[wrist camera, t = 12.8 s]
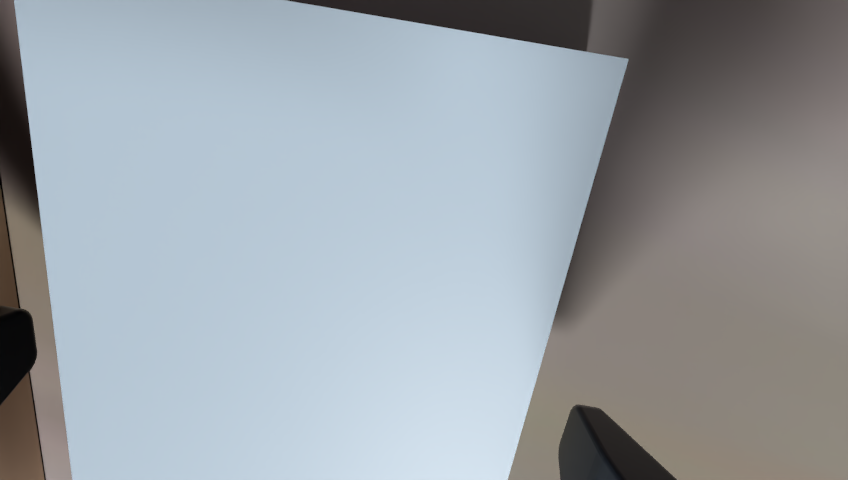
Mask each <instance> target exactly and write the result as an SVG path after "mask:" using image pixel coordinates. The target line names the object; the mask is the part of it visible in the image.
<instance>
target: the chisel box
mask: <svg viewBox="0 0 848 480" xmlns="http://www.w3.org/2000/svg"><path fill="white" fill-rule="evenodd" d="M0 306H8V307H14V308H19V307H18V300H17V293H16V287H15V280H14V273H13V267H12V260H11V253H10V247H9V240H8V233H7V227H6V220H5V213H4V207H3V200H2V193H1V187H0ZM0 480H45V479H44V473H43V466H42V459H41V453H40V446H39V439H38V433H37V426H36V420H35V413H34V406H33V400H32V393H31V386H30V380H29V373H27V374H26V376H25V377H24V378H23V379H22V380H21V382H20V383H19V384H18V385H17V386H16V388H15V389H14V390H13V391H12V393H11V394H10V395H9V396H8V397H7V399H6V400H5V401H4V402H3V403H2V405H1V406H0Z"/></svg>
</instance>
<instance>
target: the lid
mask: <svg viewBox="0 0 848 480" xmlns="http://www.w3.org/2000/svg"><path fill="white" fill-rule="evenodd" d="M14 4H15V12H16V20H17V29H18V37H19V45H20V53H21V62H22V70H23V78H24V86H25V95H26V103H27V111H28V119H29V127H30V136H31V144H32V152H33V160H34V169H35V177H36V185H37V193H38V202H39V210H40V218H41V226H42V234H43V243H44V251H45V259H46V267H47V276H48V284H49V292H50V300H51V309H52V317H53V325H54V333H55V341H56V350H57V358H58V366H59V374H60V383H61V391H62V399H63V407H64V415H65V424H66V432H67V440H68V448H69V457H70V465H71V473H72V480H508V476H509V473H510V469H511V466H512V462H513V459H514V455H515V452H516V448H517V445H518V441H519V438H520V434H521V431H522V427H523V424H524V421H525V417H526V414H527V410H528V407H529V403H530V400H531V396H532V393H533V389H534V386H535V382H536V379H537V375H538V372H539V369H540V365H541V362H542V358H543V355H544V351H545V348H546V344H547V341H548V337H549V334H550V330H551V327H552V323H553V320H554V316H555V313H556V310H557V306H558V303H559V299H560V296H561V292H562V289H563V285H564V282H565V278H566V275H567V271H568V268H569V264H570V261H571V258H572V254H573V251H574V247H575V244H576V240H577V237H578V233H579V230H580V226H581V223H582V219H583V216H584V212H585V209H586V205H587V202H588V199H589V195H590V192H591V188H592V185H593V181H594V178H595V174H596V171H597V167H598V164H599V160H600V157H601V153H602V150H603V146H604V143H605V140H606V136H607V133H608V129H609V126H610V122H611V119H612V115H613V112H614V108H615V105H616V101H617V98H618V94H619V91H620V88H621V84H622V81H623V77H624V74H625V70H626V67H627V63H628V60H629V59H626V58H620V57H614V56H608V55H602V54H597V53H591V52H585V51H579V50H573V49H567V48H561V47H556V46H550V45H544V44H538V43H532V42H526V41H521V40H515V39H509V38H503V37H497V36H491V35H486V34H480V33H474V32H468V31H462V30H456V29H450V28H445V27H439V26H433V25H427V24H421V23H415V22H410V21H404V20H398V19H392V18H386V17H380V16H375V15H369V14H363V13H357V12H351V11H345V10H340V9H334V8H328V7H322V6H316V5H310V4H304V3H299V2H293V1H287V0H14Z"/></svg>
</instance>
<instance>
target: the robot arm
mask: <svg viewBox="0 0 848 480" xmlns="http://www.w3.org/2000/svg"><path fill="white" fill-rule="evenodd" d="M36 357H37V348H36V340H35V333H34V326H33V319H32V316H31V314H30V313H29V312H28V311H26V310H24V309H19V308H14V307H8V306H0V406H1V405H2V403H3V402H4V401H5V400H6V399H7V397H8V396H9V395H10V394H11V393H12V391H13V390H14V389H15V388H16V386H17V385H18V384H19V383H20V382H21V380H22V379H23V378H24V377H25V376H26V374H27V373H28V372H29V371H30V370H31V368H32V367H33V365H34V363H35V360H36ZM559 468H560V479H561V480H677V479H676V478H675V477H673V476H672V475H671V474H670V473H669V472H668V471H667V470H666V469H665V468H664V467H663V466H662V465H661V464H659V463H658V462H657V461H656V460H655V459H654V458H653V457H652V456H651V455H650V454H649V453H648V452H647V451H645V450H644V449H643V448H642V447H641V446H640V445H639V444H638V443H637V442H636V441H635V440H634V439H633V438H631V437H630V436H629V435H628V434H627V433H626V432H625V431H624V430H623V429H622V428H621V427H620V426H619V425H617V424H616V423H615V422H614V421H613V420H612V419H611V418H610V417H609V416H608V415H607V414H606V413H605V412H603V411H602V410H601V409H599V408H596V407H590V406H584V405H575V406H574V407H573V408H572V409H571V411H570V414H569V417H568V420H567V423H566V426H565V429H564V432H563V435H562V438H561V441H560V445H559Z"/></svg>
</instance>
